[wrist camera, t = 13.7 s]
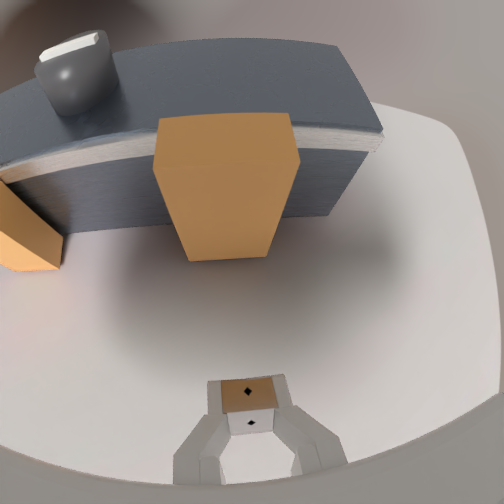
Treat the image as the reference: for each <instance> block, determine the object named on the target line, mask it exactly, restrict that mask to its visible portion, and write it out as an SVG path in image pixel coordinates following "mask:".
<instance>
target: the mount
mask: <svg viewBox="0 0 504 504" xmlns="http://www.w3.org/2000/svg"><path fill="white" fill-rule="evenodd" d="M112 56H113V59H114V63H115V66H116V70H117V73H118V77H119V81H118V84H117V86H116V87H115V89H114V90H113V91H112V93H111V94H110V95H109V96H107V97H106V98H105V99H104V100H103V101H101V102H100V103H98V104H97V105H95V106H94V107H92V108H90V109H88V110H86V111H84V112H81V113H79V114H76V115H71V116H60V115H58V114H56V112H55V111H54V109H53V107H52V105H51V104H50V102H49V100H48V98H47V96H46V94H45V92H44V90H43V88H42V86H41V84H40V82H39V80H38V78H37V77H36V78H34V79H31V80H29V81H27V82H24V83H22V84H20V85H18V86H15V87H13V88H11V89H9V90H7V91H5V92H3V93H1V94H0V180H1V181H2V182H3V183H4V184H5V185H6V186H7V187H8V188H9V189H10V190H11V191H12V192H13V193H14V194H15V195H16V196H17V197H18V198H19V199H20V200H21V201H22V202H23V203H25V204H26V205H27V206H28V207H29V208H30V209H31V210H32V211H33V212H34V213H36V214H37V215H38V216H39V217H40V218H41V219H42V220H43V221H45V222H46V223H47V224H48V225H49V226H50V227H52V228H53V229H54V230H55V231H56V232H57V233H59V234H69V233H78V232H87V231H97V230H107V229H117V228H128V227H139V226H151V225H163V224H174V223H173V221H172V218H171V216H170V213H169V211H168V208H167V206H166V203H165V201H164V198H163V195H162V193H161V190H160V187H159V185H158V182H157V179H156V177H155V174H154V171H153V162H154V154H155V146H156V139H157V132H158V125H159V119H161V118H170V117H179V116H190V115H204V114H221V113H288V114H289V117H290V121H291V125H292V129H293V133H294V137H295V141H296V145H297V149H298V153H299V158H300V164H299V167H298V170H297V173H296V176H295V179H294V181H293V184H292V187H291V190H290V193H289V195H288V198H287V201H286V204H285V207H284V209H283V212H282V215H281V217H299V216H328V214H329V213H330V211H331V210H332V208H333V207H334V205H335V204H336V202H337V201H338V199H339V198H340V196H341V195H342V193H343V192H344V190H345V189H346V187H347V186H348V184H349V182H350V181H351V179H352V178H353V176H354V175H355V173H356V172H357V170H358V168H359V167H360V165H361V164H362V162H363V161H364V159H365V157H366V156H367V154H368V153H369V152H375V151H376V150H377V148H378V147H379V145H380V144H381V142H382V140H383V139H384V135H383V133H382V130H383V127H382V125H381V123H380V121H379V119H378V117H377V115H376V113H375V111H374V109H373V107H372V105H371V103H370V101H369V100H368V97H367V96H366V94H365V92H364V90H363V89H362V87H361V85H360V83H359V81H358V80H357V78H356V76H355V74H354V73H353V71H352V69H351V68H350V66H349V64H348V63H347V61H346V60H345V58H344V57H343V55H342V53H341V52H340V51H339V49H338V47H337V46H333V45H326V44H319V43H312V42H303V41H293V40H281V39H261V38H222V39H202V40H189V41H180V42H171V43H163V44H156V45H150V46H144V47H138V48H134V49H129V50H123V51H119V52H114V53H112Z"/></svg>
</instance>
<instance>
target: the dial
mask: <svg viewBox="0 0 504 504" xmlns="http://www.w3.org/2000/svg"><path fill="white" fill-rule="evenodd" d="M39 58H40V60H39V61H38V63H37V64H36V66H35V68H34V72H35V74H36V76H37V78H38V80H39V82H40V84H41V86H42V88H43V90H44V92H45V94H46V96H47V98H48V100H49V102H50V104H51V105H52V107H53V109H54V111H55V112H56V114H58V115H60V116H71V115H76V114H79V113H81V112H84V111H86V110H88V109H90V108H92V107H94V106H95V105H97V104H98V103H100V102H101V101H103V100H104V99H105V98H106V97H107V96H109V95H110V94H111V93H112V91H113V90H114V89H115V87H116V86H117V84H118V81H119V77H118V73H117V70H116V66H115V63H114V59H113V56H112V52H111V49H110V45H109V42H108V38H107V34H106V32H105V31H103V30H91V31H87V32H83V33H80V34H77V35H75V36H73V37H70V38H68V39H67V40H65V41H63V42H61V43H59V44H58V45H56V46H55V47H52V48H50V49H47V50H45V51H43V53H42V54H41V55H40V57H39Z"/></svg>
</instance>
